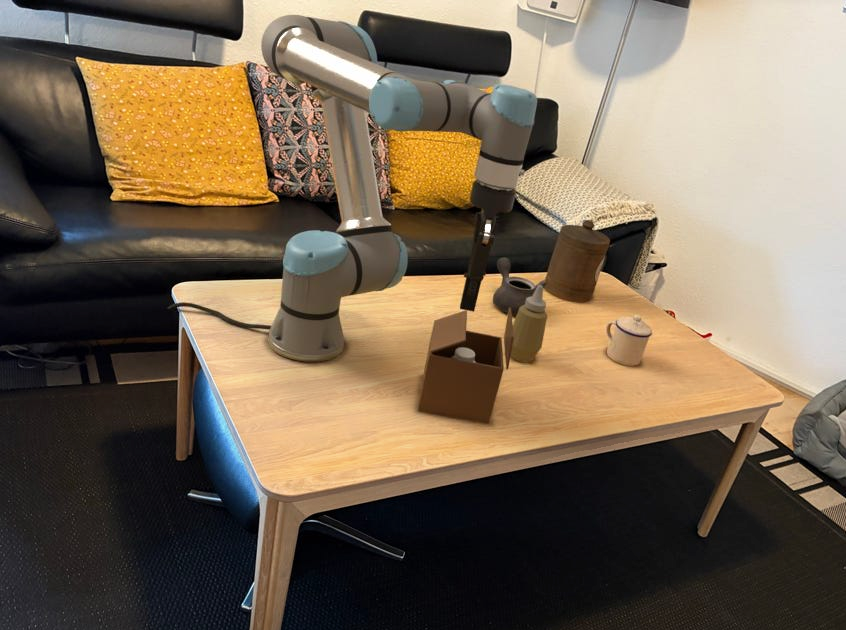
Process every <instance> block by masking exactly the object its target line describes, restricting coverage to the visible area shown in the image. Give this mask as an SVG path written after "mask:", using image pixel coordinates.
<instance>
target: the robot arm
mask: <svg viewBox="0 0 846 630" xmlns="http://www.w3.org/2000/svg"><path fill="white" fill-rule="evenodd" d="M260 42H261V45H260V49H261V56H262V58H263V60H264V63H265V64H266V66H267V67H268V68H269V70H270V71H271V72H272V73H274V74H275V75H276V76H278V77H279V78H281V79H284V80H286V81H288V82H290V83H292V84H297V85H302V84H307V85H310V89H311V95H312V97H313V98H314V99H315V100H316V101H317V102H319V103H320V104H321V109H322V115H323V120H324V126H325V133H326V138H327V145H328V151H329V155H330V161H331V167H332V174H333V180H334V185H335V191H336V197H337V202H338V209H339V214H340V220H341V222H340V224H339V227H337V229H336V230H335V232H333V231H328V230H324V231H321V230H319V229H318V230H317V229H316V230H315V229H314V230H307V231H303V232H299V233H297V234H295V235H294V236H292V237H291V238H290V239H289V240H288V241H287V243H286V245H285V251H284V256H283V259H282V266H283V269H282V283H281V294H280V307H279V309H278V311H277V312H276V313H277V314H276V315H275V317H274V320H273V321H272V324H271V325H269V324H258V323H257V324H255V323H246V322H242V321H238V320H236V319H233V318H230V317H229V316H226V315H224V314H223V313H222V312H220V311H217V310H215V309H212V308H209V307H205V306H203V305H201V304H196V303H193V302H186V301H184V302H182V301H181V302H176V303H173V304H171V305H169V306H168V307H167V310H172V311H173V310H174V309H177V308H182V307H185V308H192V309H196V310H198V311H199V310H200V311H202V312H205V313H209V314H212V315H214V316H217V317H219V318H221V319H222V320H224V321H225V322H228V323H230V324H233V325H235V326H238V327H242V328H245V329H246V328H247V329H256V330H257V329H258V330H259V329H261V330H269V331H268V338H267V341H268V345H269V347H270V349H272V351H274V352H275V353H276V354H277V355H280V356H282V357H283V358H286V359H289V360H294V361H298V362H304V363H318V362H319V363H320V362H324V361H330V360H332V359H334V358H337V357H338V356H339V355H341V353H343V350H344V347H345V346H344V345H345V335H344V332H343V327H342V326H343V325H342V322H341V318H340V307H341V301H342V298H345V297H350V296H356V295H362V294H367V293H372V292H373V293H374V292H383V291H384V290H387V289H392V288H394V287H396V286H397V285H399V283H400V282H402V279H403V277H404V276H405V274H406V272H407V269H408V263H409V262H408V261H409V257H408V256H409V255H408V250H407V247H406V244H405V242H404V241H402V238H401V237H400V236H399V235H398V234H395V233H393V228H392V224H391V222H390V221H388V220H386V219H385V218H384V216H383V211H382V205H381V198H380V193H379V187H378V180H377V173H376V168H375V161H374V155H373V149H372V148H373V147H372V142H371V137H370V131H369V130H370V129H369V124H368V123H369V122H368V118H367V113H368V114H371V118H372V119H373V120H374V121H375V124H376V125H377V126H378V127H380V128H382V129H383V130H389V131H394V132H398V133H400V132H401V133H402V132H437V133H438V132H439V133H459V134H465V135H467V136H469V137H471V138H475V139H476V140H479V141H481V143H480V147H479V151H478V152H479V153H478V157H477V160H476V164H475V170H474V175H473V176H474V178H475V180H474V181H473V182H472V186H471V190H470V195H469V202H470V203H471V205H473V206H474V207H475V208H478V209H481V211H479V212H476V214H475V218H474V219H475V220H474V224H475V225H474V230H473V242H472V246H471V247H472V248H471V253H470V256H469V260H468V267H467V272H464V273H463V278H465V281H464V285H463V291H462V295H461V300H460V304H459V310H462V311H465V310H467V312H475V310H476V306H477V302H478V297H479V294H480V293H479V292H480V289H481V284H482V281H483V280H484V278H485V276H486V273H487V272H486V267H487V265H488V260H489V255H490V252H491V248H492V246H493V244H494V241H495V236H496V232H498V229H499V225H500V221H499V219H500V217H499V216H497V215H498V214H507V213H510V212H512V210H513V207H514V203H515V199H516V195H517V191H516V188H517V187H518V185H519V181H520V176H524V175H525V169H523V164H524V160H525V155H526V151H527V148H528V144H529V140H530V137H531V134H532V130H533V127H534V125H535V116H536V111H537V105H538V97H537V95H536V94H535V93H534V92H532V91H531V90H527V89H525V88H520V87H517V86H515V85H509V84H501V83H499V84H496V85H494V86H493V88H492V90H491V91H492V92H488V91H485V90H483V89H480V88H477V87H474V86H472V85H469V84H468V83H467V82H463V81H458V80H454V79H445V80H444V81H441V82H436V81H426V80H425V81H424V80H418V79H413V78H410V77H408V76H406V75H403V74H400V73H398V72H396V71H394V70H391V69H389V68H386V67H384V66H382V65H379V64H378V55H377V51H376V47H375V44H374V41H373V40H372V38H371V37H370V35H369V34H368V33H367V32H366V31H365V30H364V29H363V28H362V27H361V26H359V25H356V24H355V25H354V24H351V23H349V22H346V21H341V20H337V21H335V20H331V19H325V18H324V19H323V18H317V17H311V16H305V15H300V14H286V15H283V16H280V17H277V18H275V19H274V20H272V21H271V22H270V23H269V24H267V26H266V28H265V30H264V32H263V34H262V38H261V41H260Z"/></svg>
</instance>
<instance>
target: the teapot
mask: <svg viewBox="0 0 846 630" xmlns="http://www.w3.org/2000/svg"><path fill="white" fill-rule="evenodd" d="M496 261H497V262H496V267H497V270H498V272H499V273H500V275H501V277H502V280H501V285H500V286H499V287H498V288H496V290H495V291H494V293H493V295H492V303H493V305H494V306H495V307H496V308H498V309H499V310H501V311H503V312H505V313H506V314H508V310H509V307H510V308H511V314H512V315H513V316H517V313H518V311H519V308H520V307H521V306H523V305H525V302H526V299H527V298H528V297H532V296H533V294H534V292H535V290H536V289H537V287H538V285H541V286H543V289H545V287H544V286H545V285H546V284H547V283H546V281H545V279H543V280H541V281H539V283H537V284H535V283H534V282H533V281H531V280H530V279H527V278H524V277H520V276H510V272H511V268H512V263H511V261H510V258H508V257H500V258H498V260H496Z"/></svg>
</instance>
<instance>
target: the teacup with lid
mask: <svg viewBox="0 0 846 630" xmlns="http://www.w3.org/2000/svg"><path fill="white" fill-rule="evenodd" d="M612 325H614V326H615V327H614V329H613V331H612V333H611V327H612ZM605 334H606V336H607V338H608V340H610V341H609V343H608V346H607V350H606V354H607V356H608V357H609V358H610V359H611V360H612V361H614V362H616V363H618V364H621V365H624V366H629V367H630V366H631V367H632V366H633V367H634V366H638V365H639V364H640V363H641V361H642V358H643V355H644V353H645V350H646V347H647V345H648V342H649V340H650V337H651V336H652V335H653V330H652V328H651V326H650V325H649V324H647V323H646V322H645V321H644V320H643V319H642V316H641V315H639V314H634V315H633V316H622V317H619V318H618V319H616V320H611V321H609V322H607V324H606V327H605Z"/></svg>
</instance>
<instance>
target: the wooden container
mask: <svg viewBox="0 0 846 630" xmlns="http://www.w3.org/2000/svg"><path fill="white" fill-rule="evenodd" d="M610 243H611V239H610V238H609V237H608V236H607V235H606V234H604V233H603V232H601V231H598V230H597V229H595V223H594V222H593V221H592V220H589V219H587V220H584V221H583V222H582V225H577V224H564V225H562V226H561V227H560V230H559V233H558V236H557V240H556V243H555V245H554V249H553V252H552V255H551V258H550V262H549V266H548V268H547V272H546V276H545V279H544V280H545V281H546V283H547V284H546V285H545V286H544V289H545V290H546V291H547V292H548V293H550V294H551V295H553V296H555V297H557V298H560V299H562V300H565V301H569V302H574V303H586V302H589V301H591V300H592V298H593V296H594V293H595V290H596V287H597V285H598V281H599V278H600V274H601V271H602V268H603V265H604V262H605V258H606V255H607V252H608V249H609V247H610Z"/></svg>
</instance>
